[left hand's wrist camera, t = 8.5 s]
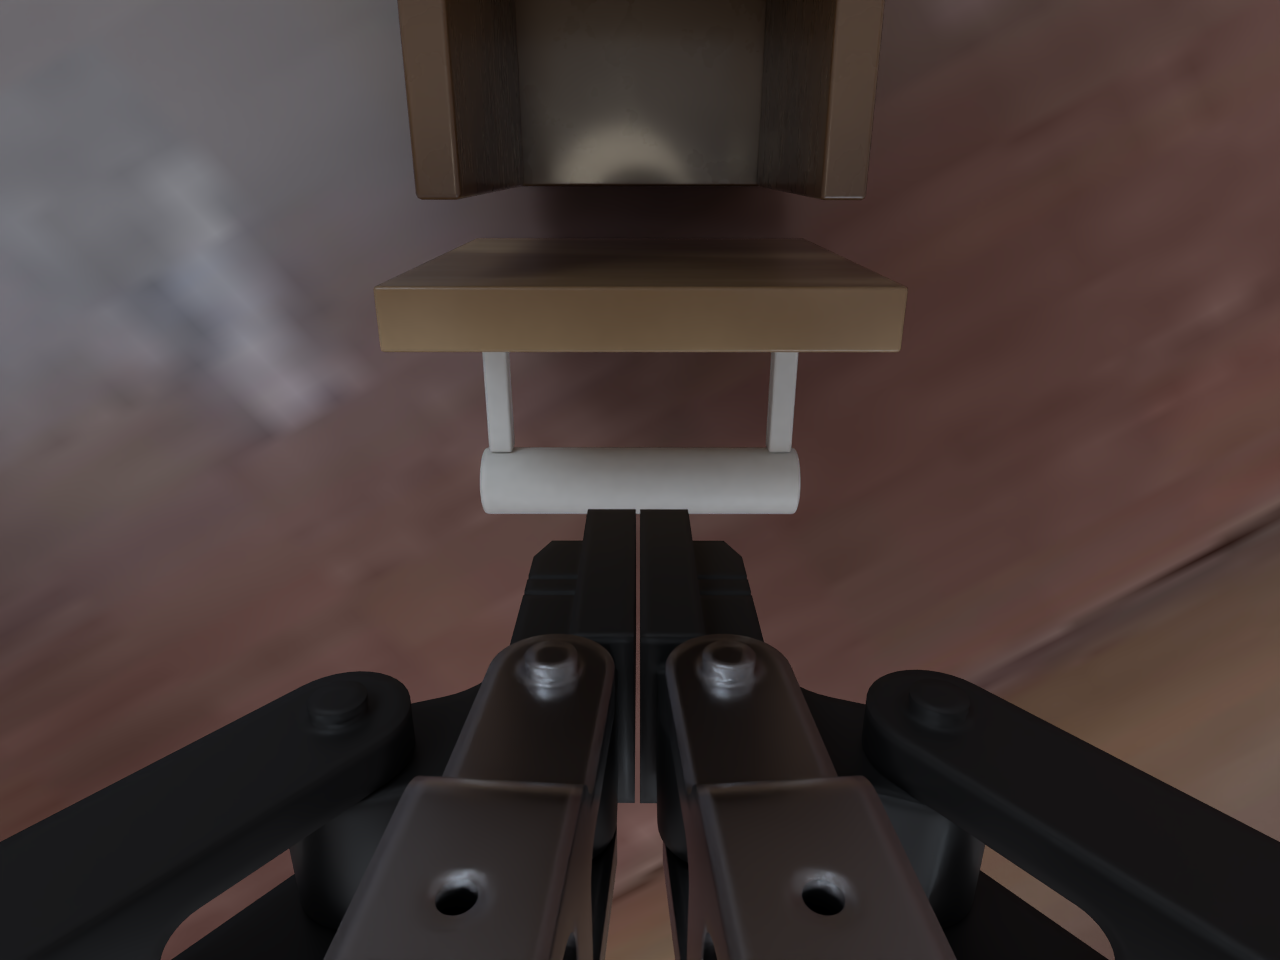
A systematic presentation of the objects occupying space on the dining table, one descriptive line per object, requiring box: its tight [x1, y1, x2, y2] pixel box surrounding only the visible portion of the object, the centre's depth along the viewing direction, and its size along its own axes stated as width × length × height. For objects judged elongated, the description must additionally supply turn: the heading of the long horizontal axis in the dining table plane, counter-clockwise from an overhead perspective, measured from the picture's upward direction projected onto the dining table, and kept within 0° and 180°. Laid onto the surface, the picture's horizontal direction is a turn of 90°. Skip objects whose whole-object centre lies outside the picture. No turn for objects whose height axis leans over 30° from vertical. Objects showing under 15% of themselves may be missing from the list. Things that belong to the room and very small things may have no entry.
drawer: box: [374, 0, 908, 514], centre depth 17 cm, size 21×10×10 cm, turn 0°
